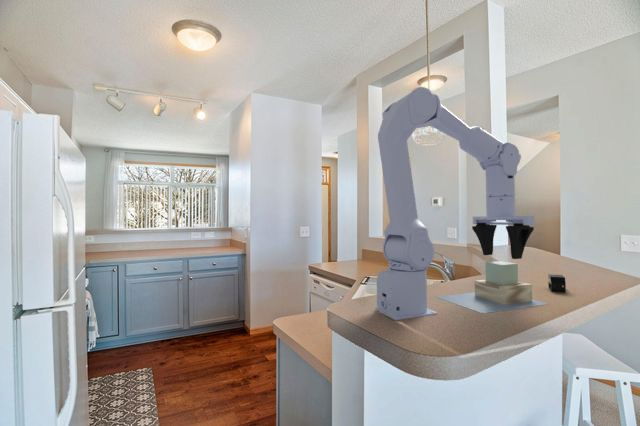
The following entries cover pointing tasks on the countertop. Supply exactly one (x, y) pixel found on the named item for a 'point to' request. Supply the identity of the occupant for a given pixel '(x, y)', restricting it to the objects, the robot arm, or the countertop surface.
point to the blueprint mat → (485, 303)
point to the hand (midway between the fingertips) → (501, 256)
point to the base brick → (503, 292)
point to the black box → (557, 283)
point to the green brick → (502, 273)
